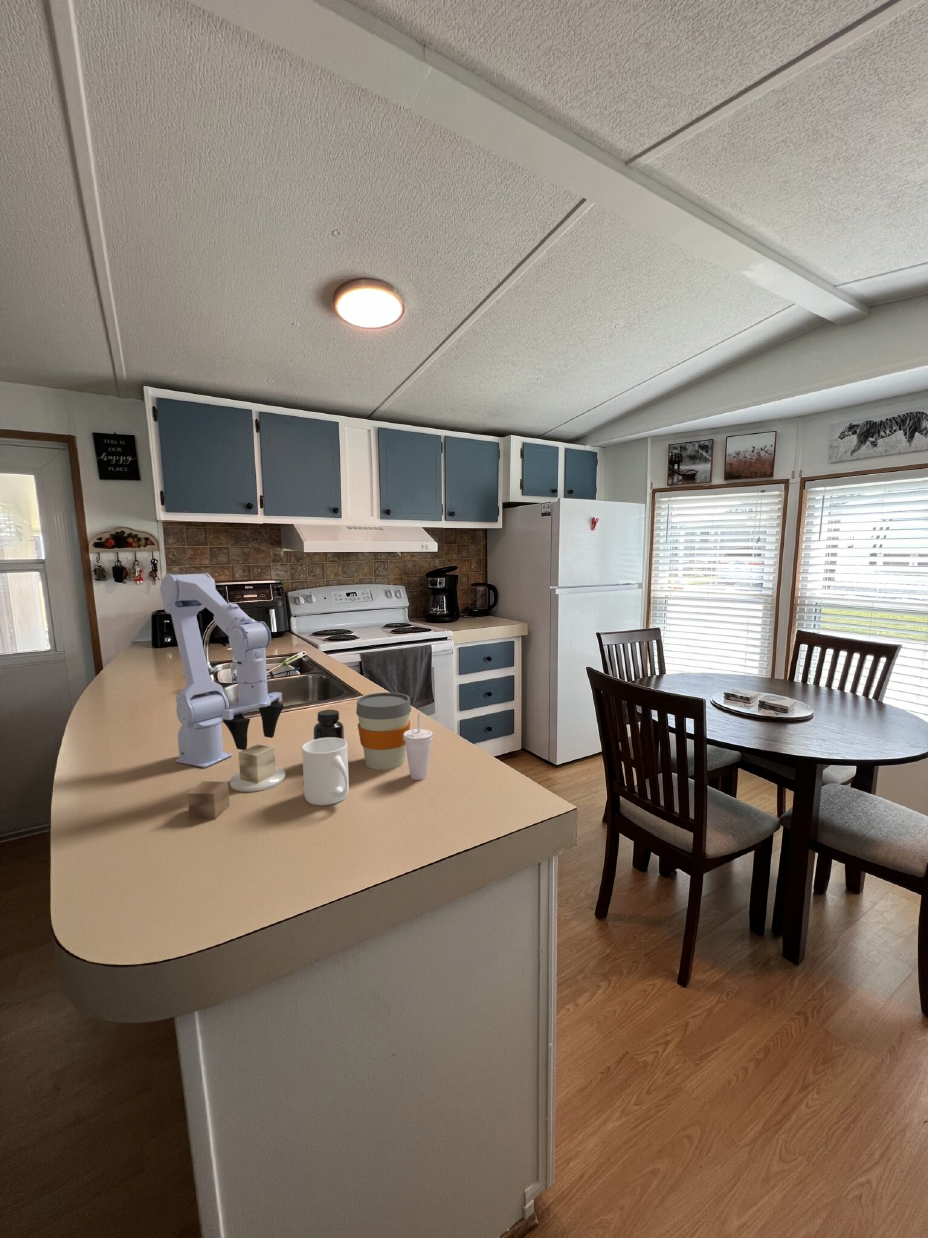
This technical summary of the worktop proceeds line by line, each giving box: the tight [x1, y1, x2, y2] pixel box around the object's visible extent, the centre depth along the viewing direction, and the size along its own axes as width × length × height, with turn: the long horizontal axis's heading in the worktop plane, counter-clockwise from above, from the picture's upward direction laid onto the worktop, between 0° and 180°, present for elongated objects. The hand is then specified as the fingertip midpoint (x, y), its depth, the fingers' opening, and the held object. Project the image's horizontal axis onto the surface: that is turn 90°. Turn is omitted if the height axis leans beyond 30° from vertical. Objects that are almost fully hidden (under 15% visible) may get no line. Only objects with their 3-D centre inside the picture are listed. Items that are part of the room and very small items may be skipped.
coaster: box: [229, 766, 286, 793], centre depth 110 cm, size 11×11×1 cm
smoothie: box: [403, 712, 434, 781], centre depth 111 cm, size 6×6×14 cm
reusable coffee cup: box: [356, 692, 412, 771], centre depth 118 cm, size 13×13×15 cm
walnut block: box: [186, 780, 230, 820], centre depth 96 cm, size 5×5×5 cm
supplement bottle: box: [313, 709, 345, 740], centre depth 119 cm, size 7×7×12 cm
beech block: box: [238, 744, 276, 783], centre depth 109 cm, size 5×5×6 cm
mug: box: [301, 738, 350, 806], centre depth 100 cm, size 9×12×11 cm
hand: (255, 742), depth 109 cm, fingers open, 7 cm apart
